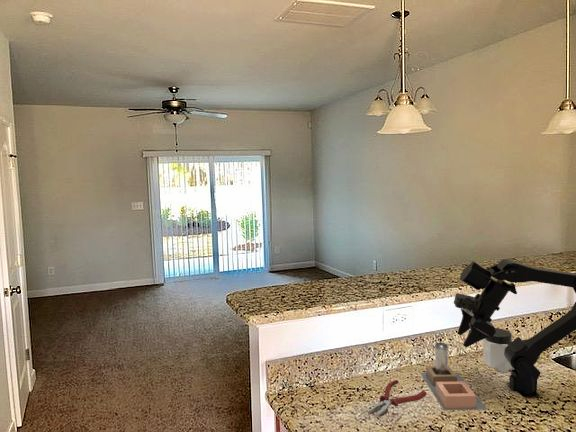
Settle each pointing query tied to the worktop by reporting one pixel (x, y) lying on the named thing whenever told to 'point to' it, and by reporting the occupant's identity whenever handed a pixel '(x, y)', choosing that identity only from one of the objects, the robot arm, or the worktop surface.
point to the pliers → (386, 403)
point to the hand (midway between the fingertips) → (461, 340)
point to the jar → (497, 350)
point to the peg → (441, 358)
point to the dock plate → (450, 377)
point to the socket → (455, 395)
